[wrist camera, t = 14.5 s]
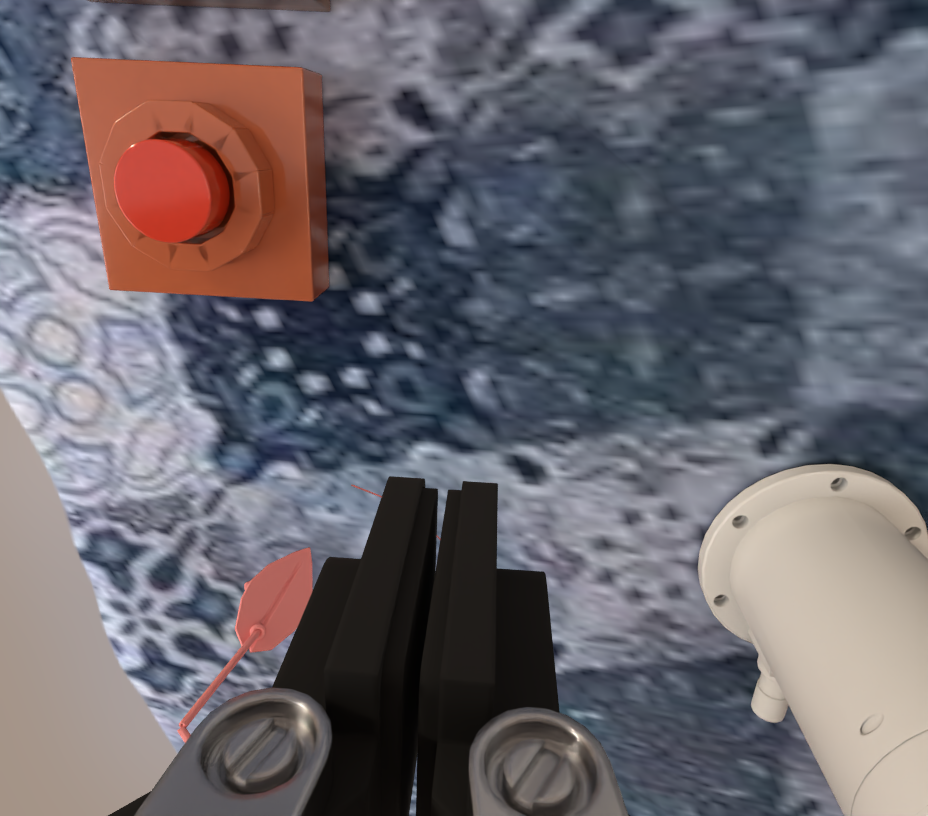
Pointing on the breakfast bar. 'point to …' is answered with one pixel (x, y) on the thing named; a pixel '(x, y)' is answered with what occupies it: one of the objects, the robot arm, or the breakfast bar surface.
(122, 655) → the breakfast bar surface
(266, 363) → the breakfast bar surface
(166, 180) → the red button
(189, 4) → the base
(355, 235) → the breakfast bar surface
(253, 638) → the figurine
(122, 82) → the button base
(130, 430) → the breakfast bar surface
